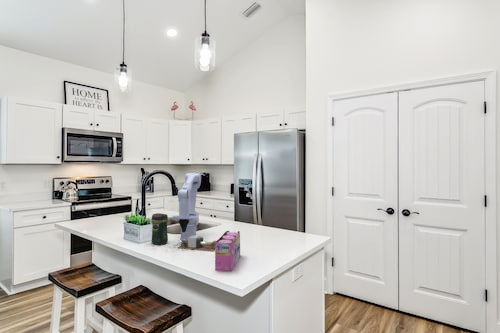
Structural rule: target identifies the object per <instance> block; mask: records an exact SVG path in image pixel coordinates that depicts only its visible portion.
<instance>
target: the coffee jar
mask: <svg viewBox="0 0 500 333" xmlns="http://www.w3.org/2000/svg"><path fill="white" fill-rule="evenodd" d="M168 220H169V219H168V214H166V213H159V212H158V213H153V214H152V215H151V224H152V228H151V230H152V231H151V232H152V233H151V244H152V245H153V244H154V245H158V246H160V245H166V244H167V243H168V242H169V238H168V235H169V234H168Z"/></svg>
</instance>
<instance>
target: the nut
mask: <svg viewBox="0 0 500 333" xmlns="http://www.w3.org/2000/svg"><path fill="white" fill-rule="evenodd" d="M200 242H204V237H200V238H199V239H197V248H200V247H202V245H200Z"/></svg>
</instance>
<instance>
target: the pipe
mask: <svg viewBox="0 0 500 333" xmlns="http://www.w3.org/2000/svg"><path fill="white" fill-rule="evenodd" d="M181 242H182V243H185V244H188V240H181ZM212 242H213V241H211V242H210V241H203V242H200V245H202V246H212Z"/></svg>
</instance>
